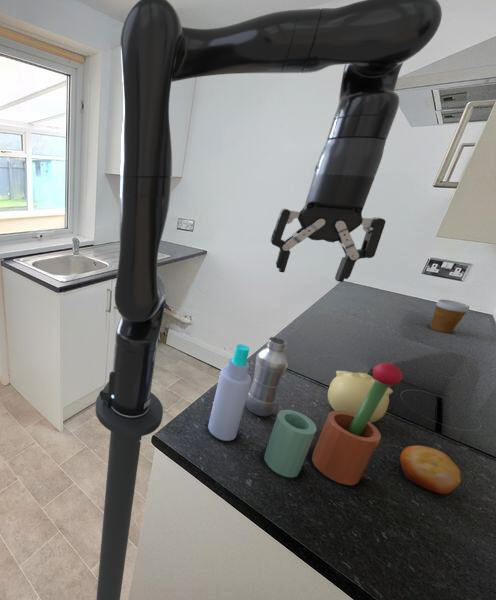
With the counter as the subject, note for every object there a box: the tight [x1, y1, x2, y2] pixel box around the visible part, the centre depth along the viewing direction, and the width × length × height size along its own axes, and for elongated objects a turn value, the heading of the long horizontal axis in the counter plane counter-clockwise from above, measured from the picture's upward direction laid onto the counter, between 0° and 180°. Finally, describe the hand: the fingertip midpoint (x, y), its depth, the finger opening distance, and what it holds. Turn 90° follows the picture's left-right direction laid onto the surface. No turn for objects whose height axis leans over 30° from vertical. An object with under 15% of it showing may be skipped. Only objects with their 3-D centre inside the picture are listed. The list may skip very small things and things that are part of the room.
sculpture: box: [327, 370, 394, 424], centre depth 77 cm, size 11×12×11 cm
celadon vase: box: [263, 409, 317, 478], centre depth 61 cm, size 6×6×11 cm
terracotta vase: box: [311, 410, 382, 486], centre depth 61 cm, size 8×8×11 cm
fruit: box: [399, 444, 462, 495], centre depth 60 cm, size 8×8×8 cm
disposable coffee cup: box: [430, 299, 470, 334], centre depth 129 cm, size 10×10×12 cm
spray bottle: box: [207, 344, 252, 442], centre depth 67 cm, size 6×6×22 cm
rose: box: [347, 362, 404, 436], centre depth 60 cm, size 4×4×23 cm
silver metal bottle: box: [245, 336, 289, 417], centre depth 74 cm, size 6×7×20 cm
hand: (309, 275), depth 53 cm, fingers open, 8 cm apart
